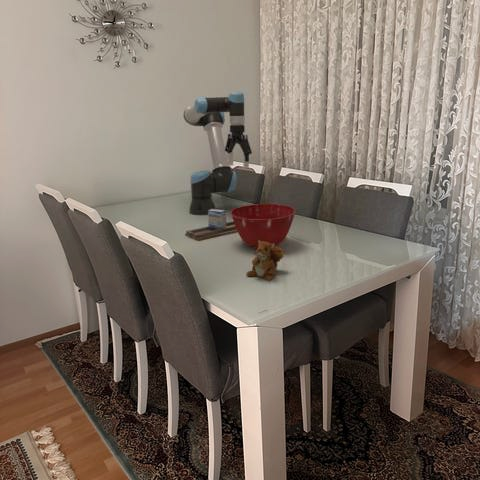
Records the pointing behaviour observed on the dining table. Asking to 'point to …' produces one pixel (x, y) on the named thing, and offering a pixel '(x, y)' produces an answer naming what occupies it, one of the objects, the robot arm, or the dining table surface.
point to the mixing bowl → (263, 223)
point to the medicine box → (217, 218)
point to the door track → (211, 232)
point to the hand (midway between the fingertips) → (238, 166)
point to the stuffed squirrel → (266, 260)
